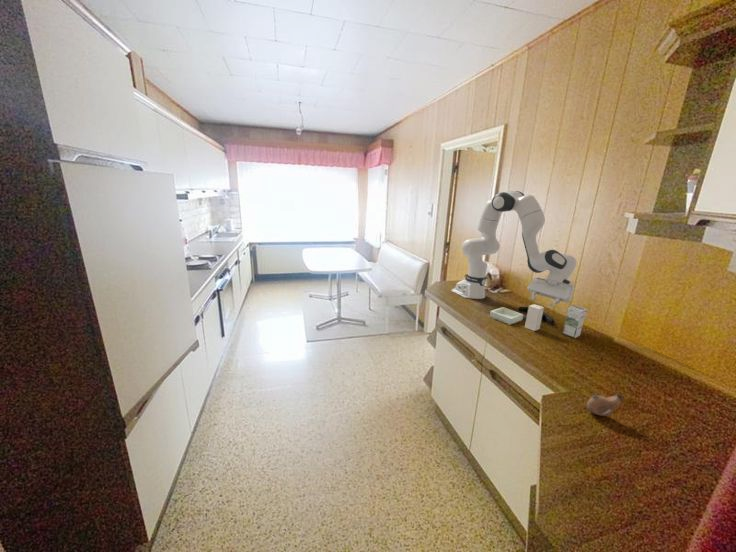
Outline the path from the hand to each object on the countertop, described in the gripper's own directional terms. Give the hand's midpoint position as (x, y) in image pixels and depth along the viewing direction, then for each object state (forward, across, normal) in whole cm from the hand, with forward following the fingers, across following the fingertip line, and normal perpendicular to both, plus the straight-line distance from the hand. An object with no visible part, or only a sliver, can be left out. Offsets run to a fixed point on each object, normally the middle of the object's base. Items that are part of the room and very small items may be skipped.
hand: (542, 302), depth 145 cm
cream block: (+13, 0, +6) cm, 14 cm away
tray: (+13, -14, +5) cm, 20 cm away
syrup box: (+6, +14, +13) cm, 20 cm away
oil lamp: (+44, +44, -24) cm, 66 cm away
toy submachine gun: (+2, -8, +17) cm, 19 cm away
